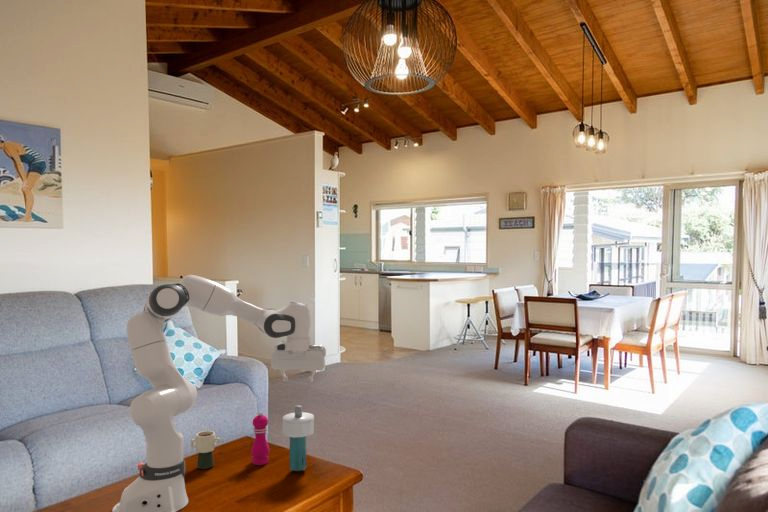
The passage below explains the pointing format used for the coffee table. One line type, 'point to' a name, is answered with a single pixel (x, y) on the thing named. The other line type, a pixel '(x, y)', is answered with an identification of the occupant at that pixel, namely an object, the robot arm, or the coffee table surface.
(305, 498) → the coffee table surface
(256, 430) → the pepper mill
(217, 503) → the coffee table surface
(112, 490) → the coffee table surface
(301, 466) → the beverage bottle
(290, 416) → the cap
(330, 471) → the coffee table surface
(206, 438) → the character mug
